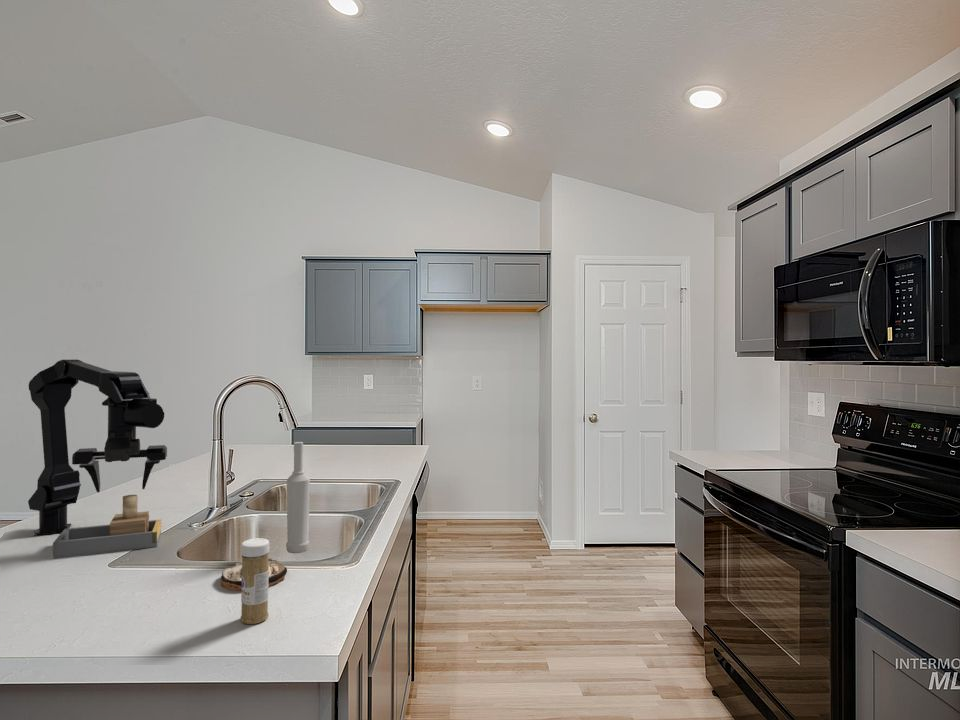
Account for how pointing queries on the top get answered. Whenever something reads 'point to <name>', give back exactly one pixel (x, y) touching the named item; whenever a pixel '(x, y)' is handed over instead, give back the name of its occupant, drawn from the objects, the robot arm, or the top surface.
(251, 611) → the sprinkles bottle
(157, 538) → the bay
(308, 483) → the bottle
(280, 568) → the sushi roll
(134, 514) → the tan block with peg
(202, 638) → the top surface
